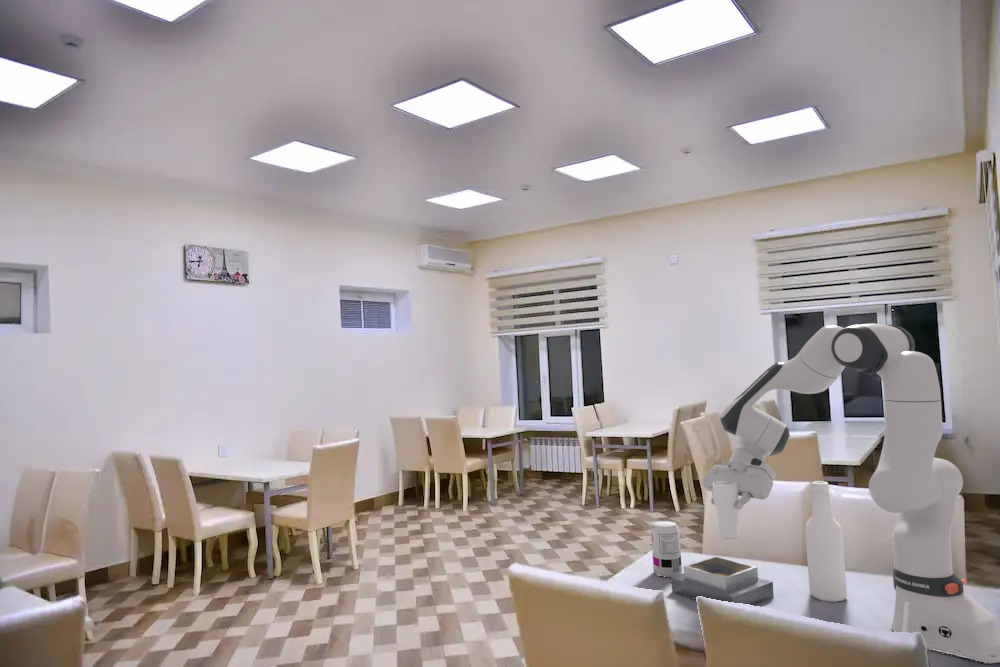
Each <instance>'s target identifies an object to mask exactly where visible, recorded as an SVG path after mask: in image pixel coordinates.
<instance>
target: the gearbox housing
mask: <svg viewBox="0 0 1000 667" xmlns="http://www.w3.org/2000/svg"><path fill="white" fill-rule="evenodd" d="M670 579H671V580H670V581H671V592H672V593H674V592H675V593H674V594H676V593H677V595H679V594H680V595H679V596H682V597H685V596H686V598H688V597H689V599H691V598H695V600H694V601H696V597H697V596H703V597H706V598H711V599H716V600H721V601H728V602H734V603H743V604H750V605H753V606H754V605H755V606H756V605H757V604H760V603H762V602H765V601H767V600H769V599H771V598H774V596H775V595H774V584H773V583H774V582H773V581H772V580H768V579H764V578H762V577H759V572H758V567H757V566H755V565H752V564H748V563H744V562H740V561H736V560H734V559H729V558H726V557H722V556H719V555H718V556H717V555H714V556H710V557H707V558H704V559H701V560H697V561H695V562H693V563H689V564H686V565H683V573H681V574H680V575H677V576H674V577H671V578H670Z"/></svg>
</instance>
